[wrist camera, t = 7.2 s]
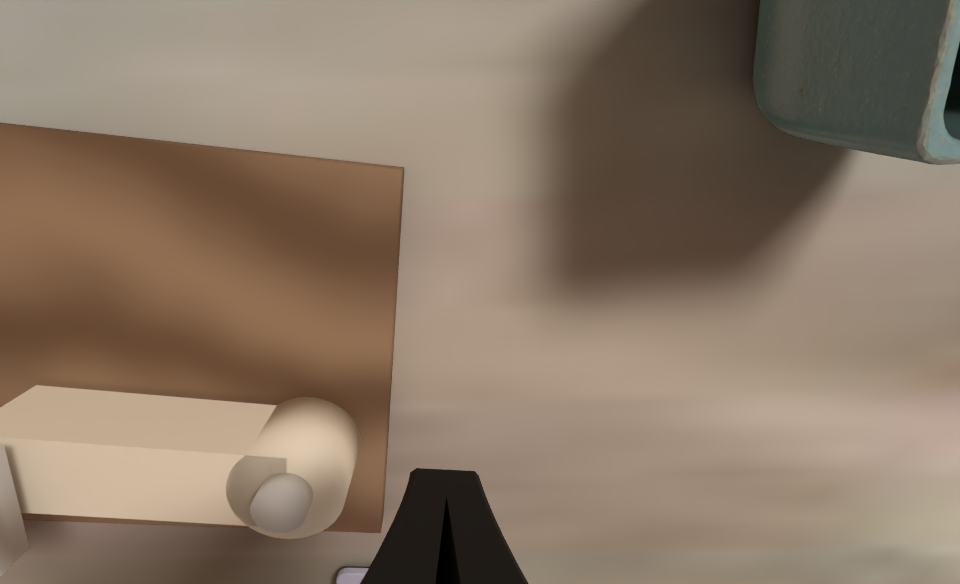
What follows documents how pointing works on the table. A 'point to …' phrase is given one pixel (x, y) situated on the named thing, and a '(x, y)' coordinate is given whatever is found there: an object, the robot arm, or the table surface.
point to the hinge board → (197, 286)
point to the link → (180, 458)
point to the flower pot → (863, 74)
